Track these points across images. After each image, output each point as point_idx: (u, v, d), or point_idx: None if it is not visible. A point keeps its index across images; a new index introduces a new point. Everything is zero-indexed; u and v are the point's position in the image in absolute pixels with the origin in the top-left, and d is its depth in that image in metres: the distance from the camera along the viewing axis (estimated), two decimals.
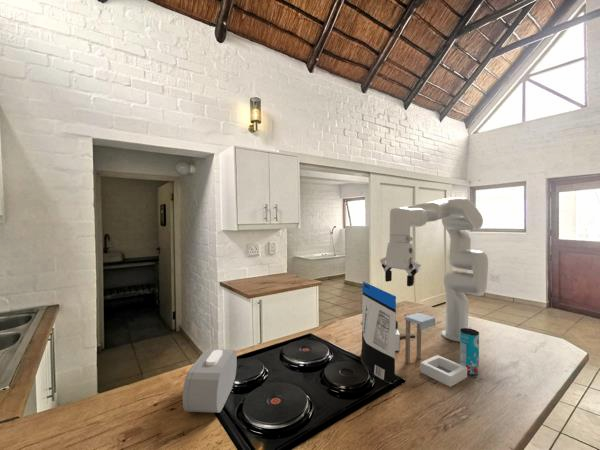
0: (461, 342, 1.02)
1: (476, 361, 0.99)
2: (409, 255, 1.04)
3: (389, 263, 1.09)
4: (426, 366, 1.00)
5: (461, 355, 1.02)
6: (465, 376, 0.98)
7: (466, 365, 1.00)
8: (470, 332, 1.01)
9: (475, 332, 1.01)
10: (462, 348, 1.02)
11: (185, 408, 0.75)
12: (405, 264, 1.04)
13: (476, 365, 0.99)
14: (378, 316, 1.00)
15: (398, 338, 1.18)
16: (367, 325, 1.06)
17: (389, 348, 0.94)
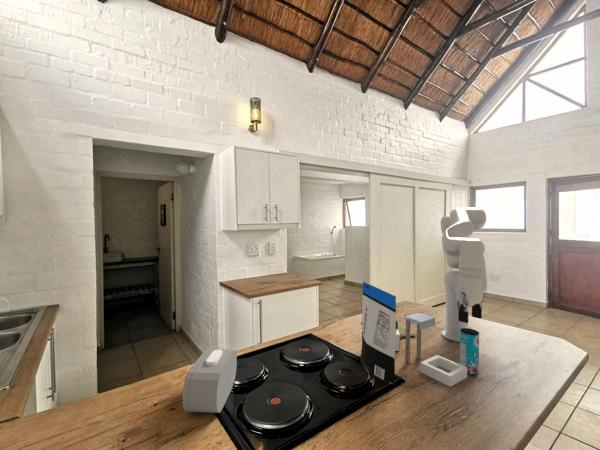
0: (461, 342, 1.02)
1: (476, 361, 0.99)
2: None
3: (472, 301, 0.98)
4: (426, 366, 1.00)
5: (461, 355, 1.02)
6: (465, 376, 0.98)
7: (466, 365, 1.00)
8: (470, 332, 1.01)
9: (475, 332, 1.01)
10: (462, 348, 1.02)
11: (185, 408, 0.75)
12: (481, 297, 1.02)
13: (476, 365, 0.99)
14: (378, 316, 1.00)
15: (398, 338, 1.18)
16: (367, 325, 1.06)
17: (389, 348, 0.94)
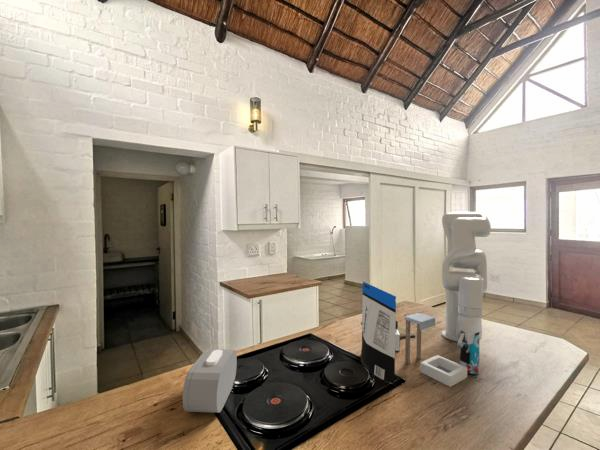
0: None
1: (477, 361, 0.99)
2: None
3: (471, 340, 0.99)
4: (426, 366, 1.00)
5: None
6: (465, 376, 0.98)
7: (467, 365, 1.00)
8: None
9: None
10: None
11: (185, 408, 0.75)
12: (480, 334, 1.03)
13: (477, 365, 0.99)
14: (378, 316, 1.00)
15: (398, 338, 1.18)
16: (367, 325, 1.06)
17: (389, 348, 0.94)
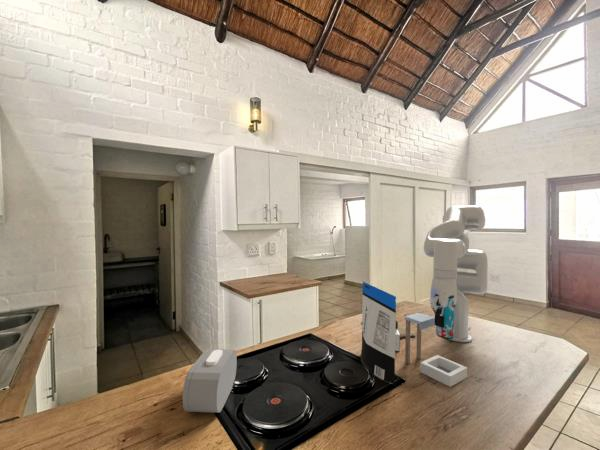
0: None
1: (451, 324, 0.97)
2: None
3: (445, 303, 0.96)
4: (426, 366, 1.00)
5: None
6: (465, 376, 0.98)
7: (441, 329, 0.98)
8: None
9: None
10: None
11: (185, 408, 0.75)
12: (455, 299, 1.00)
13: (451, 328, 0.97)
14: (378, 316, 1.00)
15: (398, 338, 1.18)
16: (367, 325, 1.06)
17: (389, 348, 0.94)
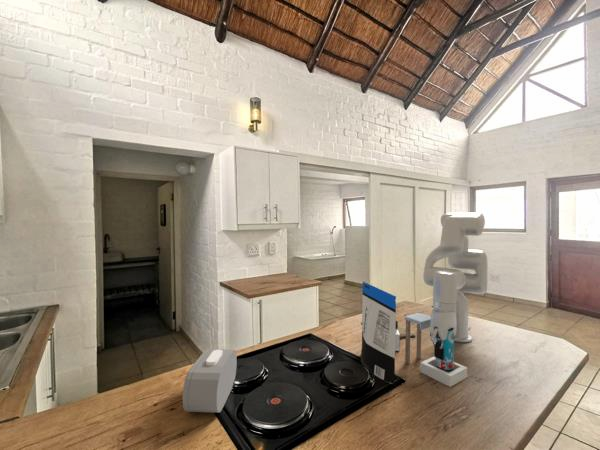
0: None
1: (451, 357, 0.97)
2: None
3: (445, 336, 0.96)
4: (426, 366, 1.00)
5: None
6: (465, 376, 0.98)
7: (441, 361, 0.98)
8: None
9: None
10: None
11: (185, 408, 0.75)
12: (455, 330, 1.01)
13: (451, 361, 0.98)
14: (378, 316, 1.00)
15: (398, 338, 1.18)
16: (367, 325, 1.06)
17: (389, 348, 0.94)
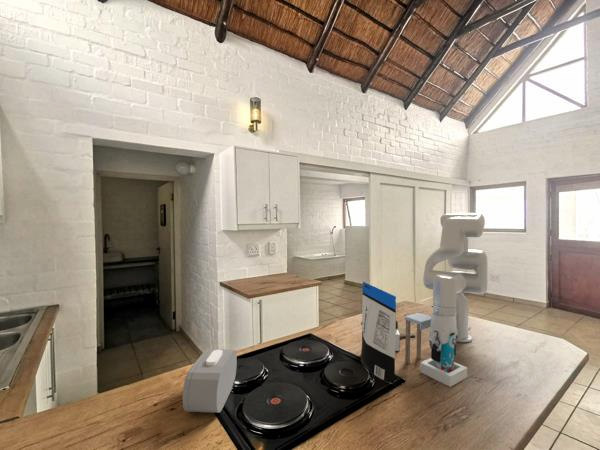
0: None
1: (451, 362, 0.98)
2: None
3: (445, 340, 0.97)
4: (426, 366, 1.00)
5: None
6: (465, 376, 0.98)
7: (441, 366, 0.99)
8: None
9: None
10: None
11: (185, 408, 0.75)
12: (455, 334, 1.01)
13: (451, 366, 0.98)
14: (378, 316, 1.00)
15: (398, 338, 1.18)
16: (367, 325, 1.06)
17: (389, 348, 0.94)
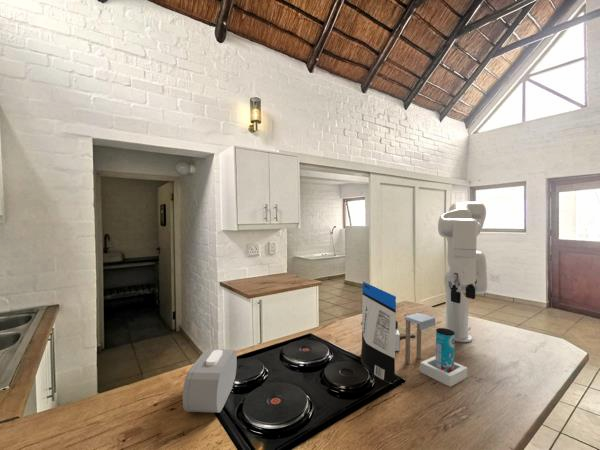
0: (437, 342, 1.01)
1: (451, 362, 0.98)
2: None
3: (465, 281, 0.98)
4: (426, 366, 1.00)
5: (436, 355, 1.01)
6: (465, 376, 0.98)
7: (441, 366, 0.99)
8: (445, 332, 1.00)
9: (450, 332, 1.00)
10: (437, 349, 1.00)
11: (185, 408, 0.75)
12: (475, 277, 1.01)
13: (451, 366, 0.98)
14: (378, 316, 1.00)
15: (398, 338, 1.18)
16: (367, 325, 1.06)
17: (389, 348, 0.94)
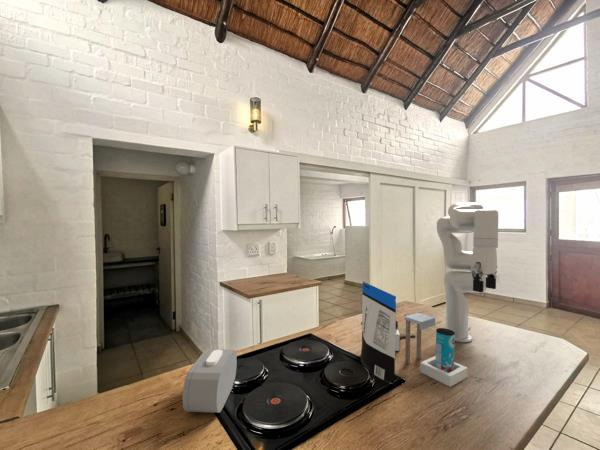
0: (437, 342, 1.01)
1: (451, 362, 0.98)
2: None
3: (487, 270, 0.98)
4: (426, 366, 1.00)
5: (436, 355, 1.01)
6: (465, 376, 0.98)
7: (441, 366, 0.99)
8: (445, 332, 1.00)
9: (450, 332, 1.00)
10: (437, 349, 1.00)
11: (185, 408, 0.75)
12: (495, 267, 1.02)
13: (451, 366, 0.98)
14: (378, 316, 1.00)
15: (398, 338, 1.18)
16: (367, 325, 1.06)
17: (389, 348, 0.94)
